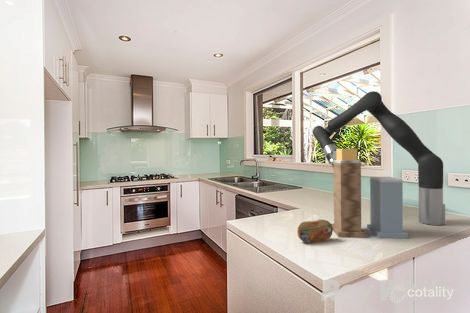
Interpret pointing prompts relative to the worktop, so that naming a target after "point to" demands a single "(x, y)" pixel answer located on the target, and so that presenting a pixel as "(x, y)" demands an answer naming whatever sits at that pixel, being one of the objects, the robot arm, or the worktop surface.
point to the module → (345, 154)
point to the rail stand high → (347, 199)
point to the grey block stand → (386, 208)
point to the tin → (315, 231)
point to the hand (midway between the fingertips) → (346, 178)
